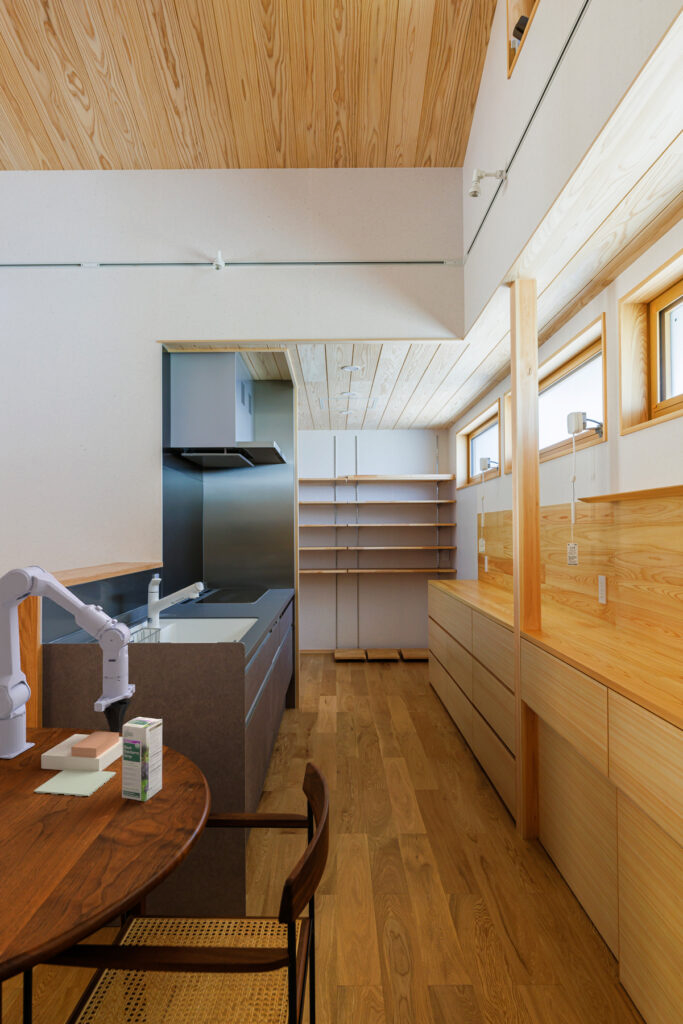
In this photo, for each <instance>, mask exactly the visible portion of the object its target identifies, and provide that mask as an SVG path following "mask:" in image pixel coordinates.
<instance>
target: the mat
mask: <svg viewBox="0 0 683 1024" xmlns="http://www.w3.org/2000/svg"><path fill="white" fill-rule="evenodd" d="M115 774H116V775H117V772H116V771H105V770H102V771H93V770H80V769H64V770H61V771H60V772H59V773H57V774H56V775H54V776H53V777H51V778H50V779H49V780H47V781H46V782H45V783H42V784H41V785H40V786H38V787H37V788H36V789H34V790H33V793H34V792H36V794H45V793H51V794H50V795H58V794H64V795H63V796H70V795H75V796H74V797H82V796H89V797H90V796H91V795H93V794H94V793H95V792H96V791H97V790H98V788H99V787H100V788H101V787H103V786H104V785H105V784H106V783H107V782H108V781H109V780H111V779H112V778H113V777H114V776H116V775H115ZM110 778H111V779H110ZM104 783H105V784H104ZM100 788H99V789H100ZM93 792H94V793H93Z"/></svg>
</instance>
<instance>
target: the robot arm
mask: <svg viewBox="0 0 683 1024" xmlns="http://www.w3.org/2000/svg"><path fill="white" fill-rule="evenodd" d="M29 596H32V597H47V598H49V599H50V600H51V601H53V602H55V603H56V604H57V605H58V606H60V607H62V608H63V609H64V610H66V611H67V612H69V613H70V614H72V615H73V616H74V619H75V623H76V624H77V626H79V627H81V628H82V629H83V630H84V631H85V632H87V633H88V634H89V635H91V636H92V637H93V638H94V639H96V640H98V644H99V647H100V649H102V694H101V695H100V697H99V698H98V699H97V701H96V702H94V703H93V704H94V705H93V708H94V710H93V711H94V712H100V713H101V712H102V713H103V714H104V716H105V719H106V721H107V724H108V727H109V732H115V733H120V732H121V731H122V729H123V725H124V720H125V716H126V713H127V711H128V708H129V706H130V705H131V699H130V698H131V697H133V694H134V693H135V692H136V684H133V683H131V684H129V651H128V650H129V645H128V643H129V641H130V640H131V637H132V633H131V630H130V627H128V626H127V625H126V623H123V622H118V620H117V619H116V618H111V617H110V616H109V615H108V614H106V613H105V612H104V611H103V607H102V606H100V605H97V606H96V605H95V604H85V603H84V602H83V601H81V600H80V599H79V598H78V597H77V596H76V595H75V594H73V593H72V592H71V591H70V590H69V589H67V588H66V586H64V585H63V584H62V583H61V582H60V581H58V580H57V579H56V578H55V576H54V575H53V574H52V573H50V572H48V571H46V570H45V569H44V568H43V567H41V566H39V565H30V566H27V567H22V568H14V569H11V570H9V571H8V572H6V573H5V574H4V575H2V576H1V577H0V759H13V758H15V757H17V756H18V755H20V754H21V753H24V752H25V751H27V750H29V749H30V748H32V747H34V746H35V743H34V742H27V715H26V714H27V709H26V703H28V702H29V699H30V698H31V693H32V690H31V688H30V686H29V685H28V682H27V676H26V673H24V672H23V671H22V669H21V652H20V650H21V648H20V633H19V632H20V631H19V630H20V628H19V627H20V626H19V611H18V609H19V607H18V606H19V605H20V604H22V603H23V601H25V600H26V599H27V598H28V597H29Z"/></svg>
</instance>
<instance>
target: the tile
mask: <svg viewBox="0 0 683 1024" xmlns="http://www.w3.org/2000/svg"><path fill="white" fill-rule="evenodd" d="M88 735H89V736H88V737H86V738H84V739H83V740H81V741H80V742H78V743H77V744H75V745H74V746H72V747H71V756H79V757H93V758H97V757H98V756H99V755H101V754H102V753H104V752H105V751H106V750H108V749H109V748H110V747H112V746H113V745H115V744H116V743H117V742H119V737H120V732H118V733H117V732H110V731H94V732H92V733H91V734H88Z"/></svg>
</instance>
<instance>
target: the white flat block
mask: <svg viewBox="0 0 683 1024" xmlns="http://www.w3.org/2000/svg"><path fill="white" fill-rule="evenodd" d="M89 735H90V734H83V733H82V734H80V733H74V734H73V735H71V736H70V737H68V738H66V739H65V740H63V741H61V742H60V743H59V744H57V745H55V746H54V747H52V748H51V749H48V750H47V751H46V752H44V753H42V754H41V757H40V760H41V761H40V765H41V767H40V769H44V770H56V771H57V770H60V771H63V770H64V769H80V770H93V771H104V770H105V769H106V768H108V767H109V766H110V765H111V764H112V763H114V762H115V761H116V760H118V759H119V758H120V757H122V736H119V742H117V743H116V744H115V745H113V746H112V747H110V748H109V749H108V750H106V751H105V752H104V753H102V754H101V755H99V756H98V757H97V758H93V757H79V756H71V747H72V746H74V745H75V744H77V743H78V742H80V741H81V740H83V739H84V738H86V737H88V736H89Z"/></svg>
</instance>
